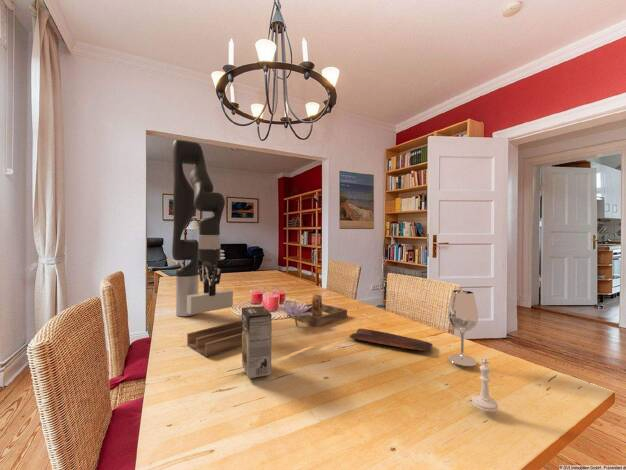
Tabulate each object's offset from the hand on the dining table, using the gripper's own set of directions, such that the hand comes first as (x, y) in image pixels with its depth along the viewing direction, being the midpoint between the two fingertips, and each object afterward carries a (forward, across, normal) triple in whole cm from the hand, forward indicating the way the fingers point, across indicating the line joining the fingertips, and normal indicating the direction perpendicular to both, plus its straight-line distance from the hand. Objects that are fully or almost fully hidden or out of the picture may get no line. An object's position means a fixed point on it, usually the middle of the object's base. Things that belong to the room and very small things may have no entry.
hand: (209, 294), depth 109 cm
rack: (+14, +12, 0) cm, 19 cm away
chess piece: (+13, +84, +20) cm, 88 cm away
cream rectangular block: (+6, 0, 0) cm, 6 cm away
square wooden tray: (+15, +14, +43) cm, 47 cm away
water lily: (+15, +16, +28) cm, 36 cm away
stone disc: (+15, +14, +43) cm, 47 cm away
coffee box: (+14, +35, -4) cm, 38 cm away
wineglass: (+14, +74, +40) cm, 85 cm away
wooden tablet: (+14, +50, +44) cm, 68 cm away
